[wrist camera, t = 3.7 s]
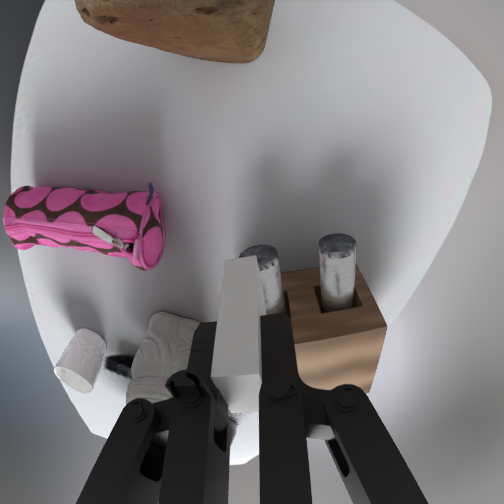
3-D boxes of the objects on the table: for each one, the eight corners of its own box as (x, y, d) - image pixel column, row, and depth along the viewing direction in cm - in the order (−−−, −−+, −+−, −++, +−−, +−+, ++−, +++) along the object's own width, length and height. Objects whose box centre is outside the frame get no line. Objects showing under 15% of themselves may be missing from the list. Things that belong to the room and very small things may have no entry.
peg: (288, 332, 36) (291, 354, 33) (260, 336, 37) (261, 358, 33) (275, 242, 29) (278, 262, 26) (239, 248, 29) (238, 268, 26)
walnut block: (350, 331, 42) (369, 392, 32) (253, 346, 44) (254, 411, 34) (354, 261, 35) (387, 326, 25) (235, 280, 37) (230, 352, 26)
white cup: (67, 329, 43) (46, 368, 35) (90, 321, 42) (68, 364, 33) (93, 355, 47) (77, 394, 39) (117, 350, 46) (101, 392, 37)
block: (272, 10, 20) (307, -104, 3) (258, 71, 24) (275, 14, 6) (170, 1, 19) (72, -84, 2) (155, 61, 22) (22, 32, 5)
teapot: (180, 377, 49) (166, 464, 33) (118, 335, 43) (83, 427, 27) (244, 347, 44) (243, 455, 28) (175, 292, 38) (141, 412, 22)
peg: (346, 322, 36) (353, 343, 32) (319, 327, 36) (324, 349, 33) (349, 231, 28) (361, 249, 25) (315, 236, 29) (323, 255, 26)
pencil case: (171, 169, 29) (139, 202, 21) (172, 245, 34) (149, 296, 26) (32, 172, 28) (-15, 200, 19) (43, 233, 33) (5, 271, 24)
